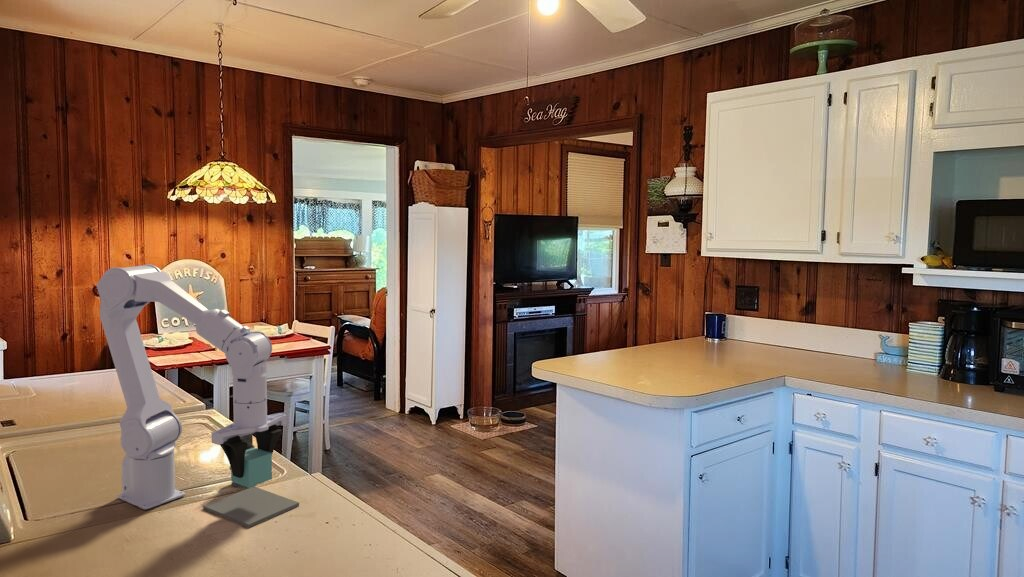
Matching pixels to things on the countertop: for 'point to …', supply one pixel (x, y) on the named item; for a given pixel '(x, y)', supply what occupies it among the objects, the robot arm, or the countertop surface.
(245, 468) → the teal cube
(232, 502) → the charcoal mat
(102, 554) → the countertop surface
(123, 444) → the robot arm
